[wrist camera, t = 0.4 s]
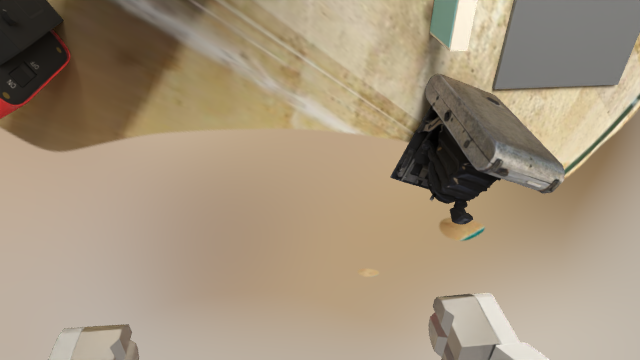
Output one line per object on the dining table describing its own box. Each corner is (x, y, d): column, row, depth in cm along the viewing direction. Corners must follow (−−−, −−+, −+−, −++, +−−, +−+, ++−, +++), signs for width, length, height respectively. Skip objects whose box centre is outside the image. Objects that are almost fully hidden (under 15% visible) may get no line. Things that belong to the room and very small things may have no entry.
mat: (540, -107, 47) (543, -107, 46) (692, -105, 49) (696, -105, 48) (492, 87, 59) (494, 89, 59) (614, 82, 61) (617, 84, 61)
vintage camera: (379, 160, 64) (420, 261, 49) (433, 66, 57) (503, 150, 41) (433, 177, 68) (488, 276, 52) (492, 89, 60) (579, 175, 44)
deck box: (438, -30, 50) (461, -18, 44) (455, -30, 50) (481, -18, 45) (428, 32, 54) (449, 51, 48) (445, 32, 54) (467, 50, 49)
